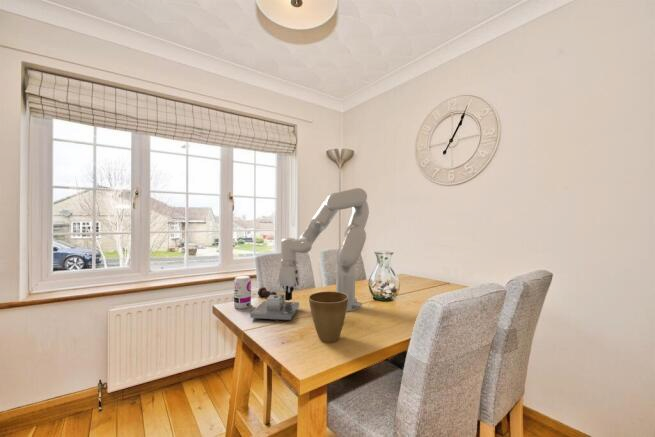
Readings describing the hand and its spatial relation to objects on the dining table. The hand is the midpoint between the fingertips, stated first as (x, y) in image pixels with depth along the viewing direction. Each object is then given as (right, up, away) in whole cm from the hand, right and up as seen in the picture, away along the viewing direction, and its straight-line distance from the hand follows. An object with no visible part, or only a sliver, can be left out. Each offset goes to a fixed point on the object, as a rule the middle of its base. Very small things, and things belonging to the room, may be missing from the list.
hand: (288, 299), depth 141 cm
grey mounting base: (-5, -4, -7) cm, 10 cm away
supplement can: (-24, -5, +2) cm, 24 cm away
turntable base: (-5, -5, -9) cm, 11 cm away
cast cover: (-5, -1, -9) cm, 10 cm away
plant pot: (+20, -5, -34) cm, 39 cm away
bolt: (-13, -5, +16) cm, 21 cm away
